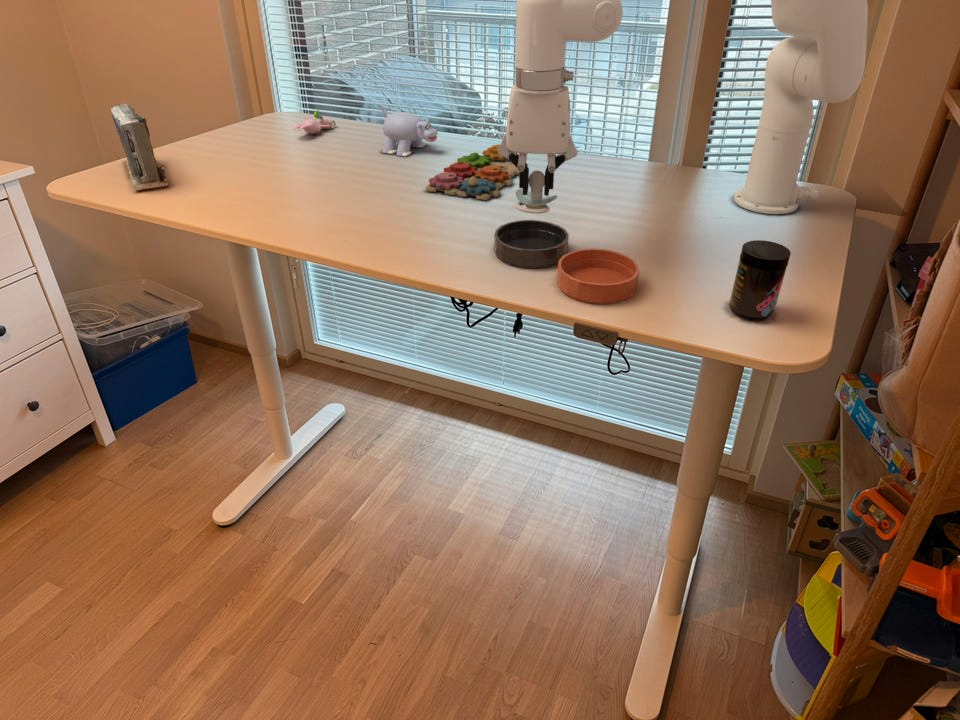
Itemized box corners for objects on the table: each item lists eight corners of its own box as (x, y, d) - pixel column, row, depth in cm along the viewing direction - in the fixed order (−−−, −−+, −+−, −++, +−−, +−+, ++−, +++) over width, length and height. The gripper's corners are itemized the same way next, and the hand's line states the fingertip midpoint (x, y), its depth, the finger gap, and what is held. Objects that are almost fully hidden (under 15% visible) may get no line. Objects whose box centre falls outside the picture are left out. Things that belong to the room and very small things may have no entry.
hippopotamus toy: (425, 160, 166) (424, 119, 160) (372, 151, 171) (368, 112, 165) (446, 147, 174) (445, 108, 168) (394, 140, 179) (392, 102, 174)
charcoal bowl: (568, 239, 128) (569, 222, 126) (565, 271, 118) (567, 252, 116) (499, 235, 130) (499, 218, 128) (490, 266, 119) (490, 247, 117)
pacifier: (545, 219, 116) (560, 205, 120) (546, 183, 112) (561, 170, 116) (507, 211, 119) (522, 198, 123) (506, 176, 115) (522, 164, 119)
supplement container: (746, 326, 103) (763, 263, 97) (718, 305, 108) (732, 244, 102) (783, 318, 105) (801, 255, 99) (753, 297, 110) (769, 237, 104)
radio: (126, 161, 165) (107, 96, 156) (164, 157, 167) (148, 92, 159) (125, 194, 147) (104, 123, 138) (169, 188, 150) (150, 118, 141)
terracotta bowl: (634, 269, 118) (637, 251, 116) (638, 307, 108) (641, 287, 106) (558, 265, 120) (560, 246, 118) (554, 301, 109) (556, 281, 107)
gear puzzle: (478, 150, 172) (478, 133, 170) (540, 158, 167) (541, 141, 165) (422, 192, 148) (421, 173, 146) (492, 203, 143) (492, 184, 141)
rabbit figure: (322, 130, 191) (286, 135, 178) (321, 107, 188) (285, 110, 176) (340, 133, 189) (305, 138, 176) (340, 110, 186) (304, 113, 174)
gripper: (593, 74, 109) (584, 186, 120) (490, 72, 111) (491, 182, 122) (592, 85, 103) (584, 202, 114) (484, 83, 105) (485, 199, 116)
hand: (536, 191), depth 118 cm, fingers closed on pacifier, 3 cm apart
